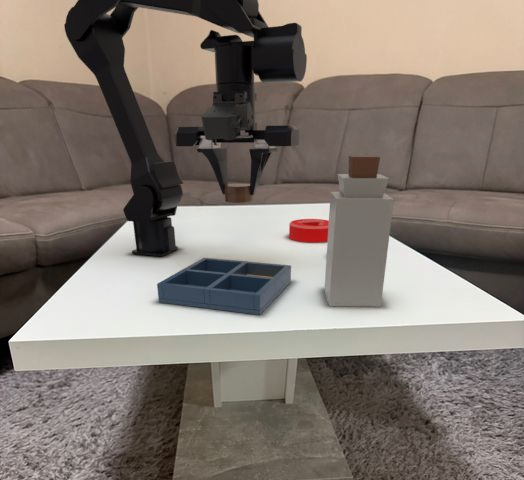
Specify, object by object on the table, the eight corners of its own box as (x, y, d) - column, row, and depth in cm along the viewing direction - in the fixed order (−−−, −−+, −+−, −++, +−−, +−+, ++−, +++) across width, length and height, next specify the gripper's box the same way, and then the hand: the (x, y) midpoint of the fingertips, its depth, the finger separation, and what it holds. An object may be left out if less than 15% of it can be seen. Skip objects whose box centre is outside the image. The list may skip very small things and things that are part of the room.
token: (220, 202, 74) (220, 186, 73) (230, 198, 78) (230, 183, 77) (247, 203, 73) (247, 186, 72) (256, 199, 77) (256, 183, 76)
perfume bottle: (324, 289, 66) (333, 154, 58) (371, 290, 66) (386, 154, 58) (329, 306, 60) (339, 157, 52) (380, 306, 60) (398, 158, 52)
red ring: (284, 233, 101) (284, 219, 100) (326, 232, 103) (327, 217, 101) (295, 243, 92) (296, 227, 91) (340, 241, 94) (341, 225, 93)
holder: (158, 302, 61) (156, 283, 60) (204, 273, 73) (203, 257, 72) (260, 315, 57) (260, 295, 56) (290, 282, 69) (291, 265, 68)
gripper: (152, 82, 64) (164, 199, 70) (281, 77, 59) (280, 203, 65) (187, 88, 73) (194, 191, 80) (300, 84, 68) (298, 193, 75)
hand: (238, 194), depth 75 cm, fingers closed on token, 4 cm apart
